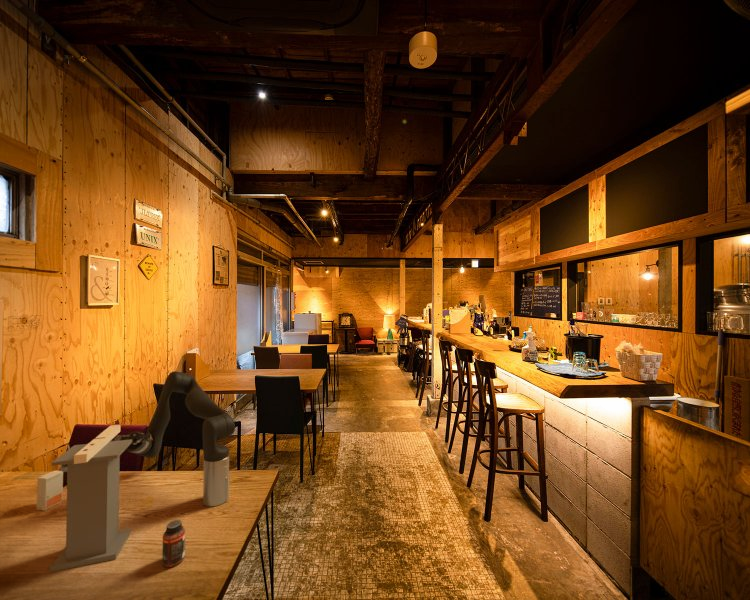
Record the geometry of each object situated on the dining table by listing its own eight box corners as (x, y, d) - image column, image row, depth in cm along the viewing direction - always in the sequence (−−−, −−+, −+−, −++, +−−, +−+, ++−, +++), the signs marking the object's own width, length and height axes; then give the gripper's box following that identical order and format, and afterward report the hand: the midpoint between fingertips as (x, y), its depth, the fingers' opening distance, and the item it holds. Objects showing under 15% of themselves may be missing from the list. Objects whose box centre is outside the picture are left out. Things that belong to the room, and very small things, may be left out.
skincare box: (44, 511, 124) (45, 479, 124) (36, 509, 124) (36, 477, 124) (63, 501, 130) (63, 471, 130) (54, 500, 130) (55, 469, 130)
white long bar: (120, 431, 119) (120, 424, 119) (86, 462, 96) (86, 453, 96) (110, 432, 118) (110, 425, 118) (73, 463, 95) (74, 454, 96)
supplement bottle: (189, 556, 103) (190, 519, 103) (172, 570, 97) (172, 532, 97) (175, 551, 105) (175, 515, 105) (157, 565, 99) (158, 527, 99)
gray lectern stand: (130, 533, 113) (132, 439, 113) (115, 559, 101) (117, 454, 101) (72, 543, 107) (74, 445, 108) (49, 572, 96) (51, 462, 96)
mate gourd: (69, 488, 139) (69, 452, 139) (50, 487, 139) (51, 452, 139) (85, 478, 146) (85, 444, 146) (67, 478, 146) (68, 444, 146)
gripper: (118, 435, 138) (102, 427, 125) (157, 431, 143) (146, 423, 129) (114, 454, 135) (97, 449, 121) (154, 450, 139) (143, 444, 126)
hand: (123, 436), depth 125 cm, fingers open, 8 cm apart
